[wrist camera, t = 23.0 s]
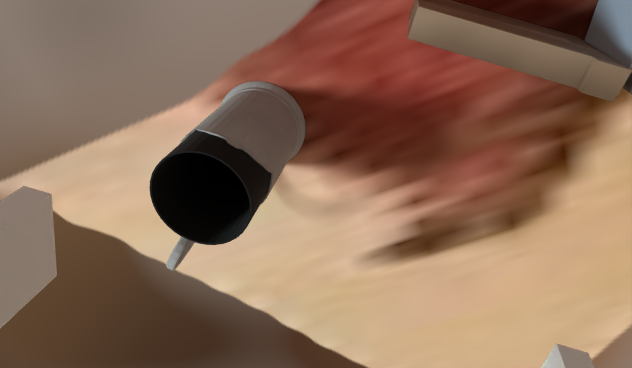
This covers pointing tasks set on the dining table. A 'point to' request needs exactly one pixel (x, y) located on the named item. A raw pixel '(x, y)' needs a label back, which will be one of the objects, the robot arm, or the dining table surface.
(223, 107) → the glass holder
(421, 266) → the dining table surface
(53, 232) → the robot arm
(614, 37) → the door
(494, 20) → the notched wooden plank
